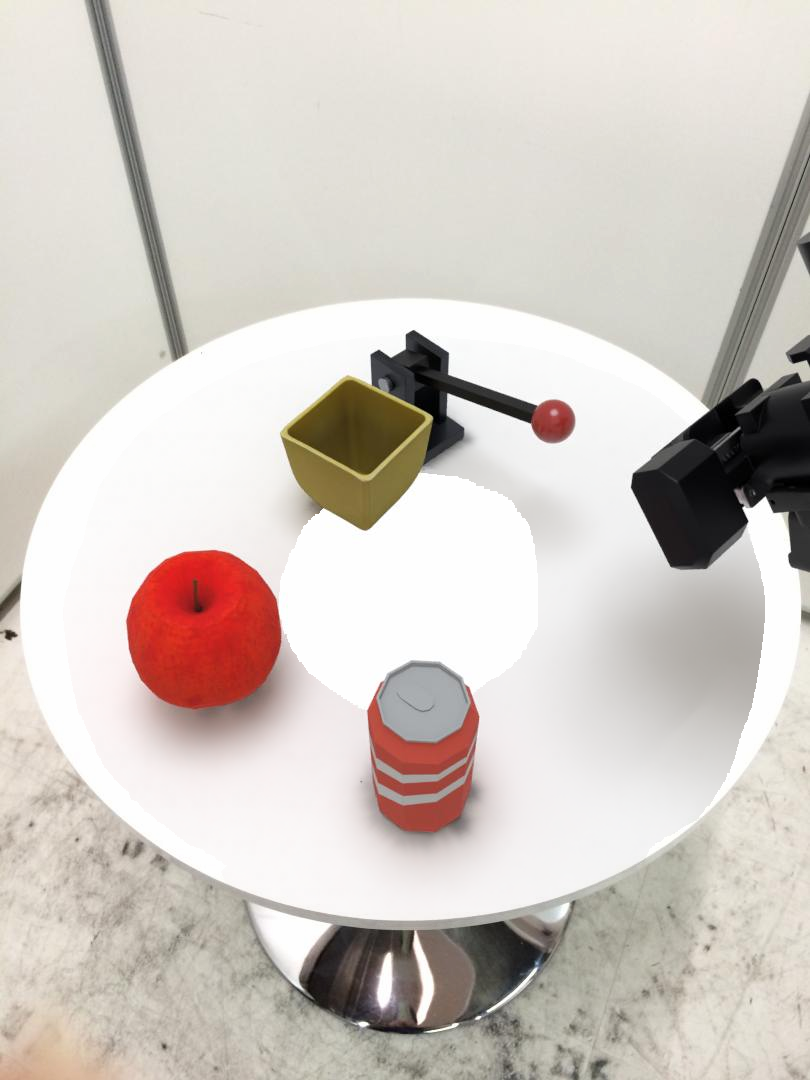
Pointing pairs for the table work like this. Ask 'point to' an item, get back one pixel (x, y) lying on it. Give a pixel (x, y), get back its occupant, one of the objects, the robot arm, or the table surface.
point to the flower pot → (357, 450)
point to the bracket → (419, 390)
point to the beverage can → (422, 745)
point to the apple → (203, 629)
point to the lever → (494, 399)
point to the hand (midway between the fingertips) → (657, 462)
